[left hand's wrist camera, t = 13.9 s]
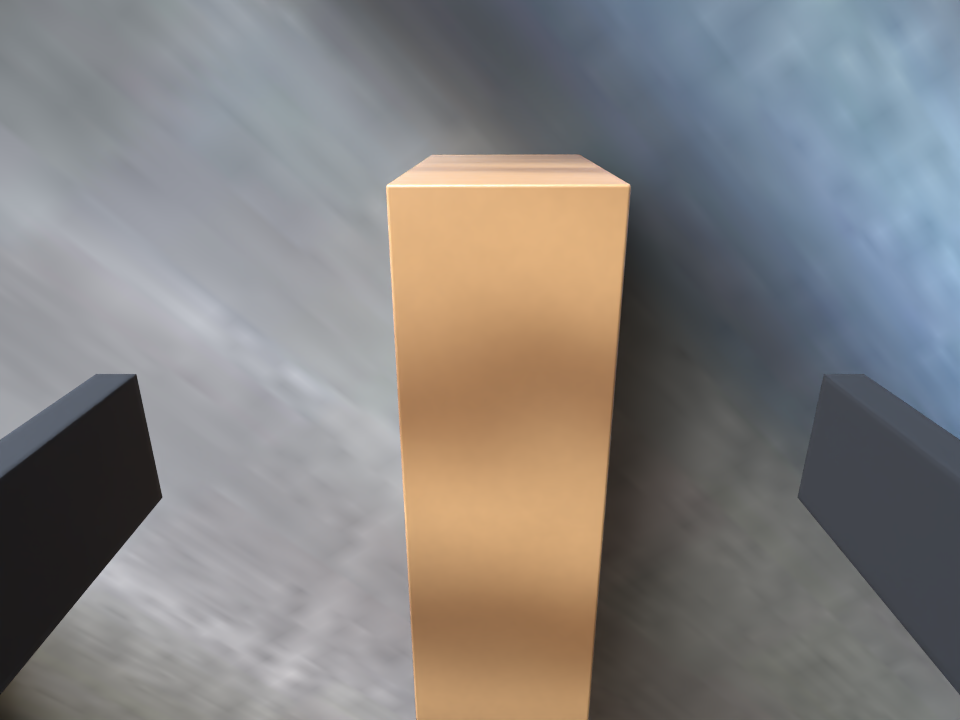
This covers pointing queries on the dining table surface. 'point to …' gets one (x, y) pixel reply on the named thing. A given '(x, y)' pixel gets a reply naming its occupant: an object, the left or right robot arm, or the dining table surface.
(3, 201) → the dining table surface
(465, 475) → the long box
